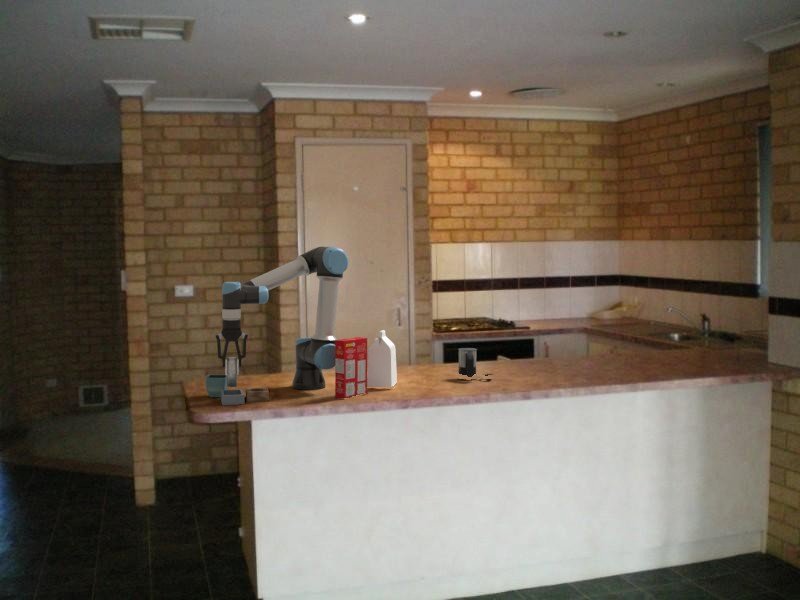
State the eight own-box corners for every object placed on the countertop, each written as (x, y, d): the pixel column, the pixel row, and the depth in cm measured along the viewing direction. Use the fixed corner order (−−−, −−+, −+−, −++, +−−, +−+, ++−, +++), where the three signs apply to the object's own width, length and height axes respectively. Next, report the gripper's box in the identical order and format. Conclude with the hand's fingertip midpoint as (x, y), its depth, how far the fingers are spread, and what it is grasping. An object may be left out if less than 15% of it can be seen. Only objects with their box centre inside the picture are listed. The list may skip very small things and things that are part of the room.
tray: (242, 398, 363) (242, 389, 362) (244, 404, 350) (244, 394, 350) (220, 399, 360) (220, 389, 360) (222, 405, 348) (222, 395, 348)
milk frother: (454, 378, 415) (454, 348, 414) (482, 376, 421) (483, 346, 420) (468, 383, 402) (468, 352, 401) (497, 380, 408) (497, 350, 407)
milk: (391, 389, 384) (391, 332, 382) (367, 388, 386) (367, 332, 384) (397, 385, 396) (397, 329, 393) (373, 384, 398) (373, 329, 396)
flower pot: (229, 394, 371) (228, 374, 370) (225, 398, 362) (225, 377, 361) (208, 394, 370) (208, 374, 370) (204, 398, 362) (204, 377, 361)
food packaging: (358, 392, 376) (358, 337, 374) (367, 394, 373) (367, 338, 371) (335, 397, 365) (335, 340, 363) (344, 399, 362) (344, 341, 360)
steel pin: (236, 385, 357) (236, 357, 356) (237, 386, 353) (236, 358, 352) (226, 385, 356) (226, 357, 355) (227, 387, 352) (227, 358, 351)
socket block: (266, 396, 366) (266, 387, 366) (268, 400, 358) (268, 391, 357) (245, 397, 364) (245, 388, 364) (247, 401, 355) (247, 392, 355)
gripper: (251, 317, 358) (251, 372, 360) (210, 318, 354) (210, 373, 356) (253, 319, 351) (253, 375, 353) (210, 320, 347) (211, 376, 349)
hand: (231, 374), depth 354 cm, fingers closed on steel pin, 4 cm apart
